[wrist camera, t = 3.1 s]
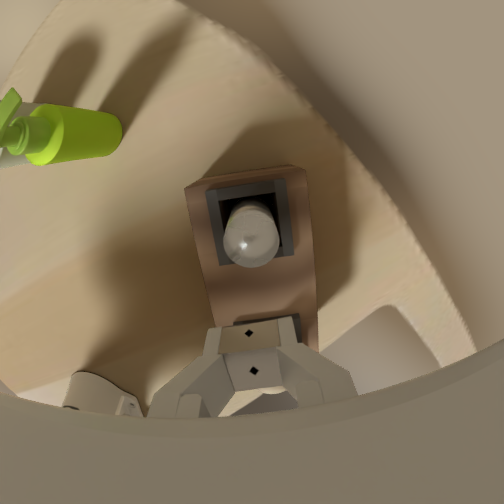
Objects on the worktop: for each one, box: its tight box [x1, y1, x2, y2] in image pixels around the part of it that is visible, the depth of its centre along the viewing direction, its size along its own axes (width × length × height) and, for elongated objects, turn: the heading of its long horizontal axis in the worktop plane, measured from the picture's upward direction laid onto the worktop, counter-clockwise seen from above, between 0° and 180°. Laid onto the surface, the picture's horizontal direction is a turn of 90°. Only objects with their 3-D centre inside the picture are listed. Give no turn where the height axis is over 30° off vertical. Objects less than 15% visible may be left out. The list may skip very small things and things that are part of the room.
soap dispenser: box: [0, 87, 122, 166], centre depth 21 cm, size 6×7×20 cm
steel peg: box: [223, 196, 279, 268], centre depth 24 cm, size 4×4×8 cm
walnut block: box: [184, 165, 319, 353], centre depth 32 cm, size 22×11×10 cm, turn 9°
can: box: [0, 100, 48, 169], centre depth 24 cm, size 9×9×12 cm
